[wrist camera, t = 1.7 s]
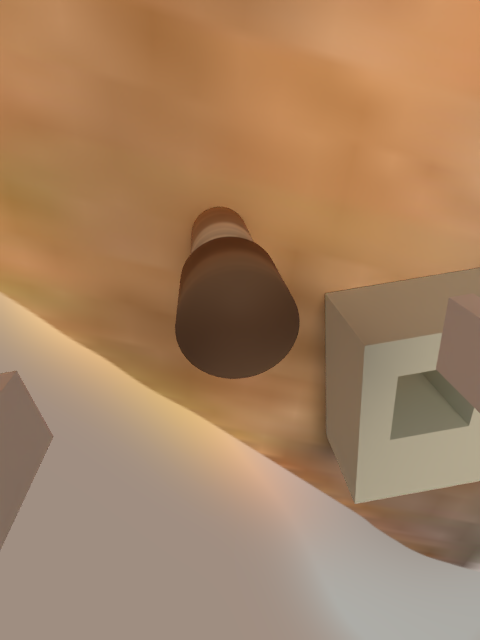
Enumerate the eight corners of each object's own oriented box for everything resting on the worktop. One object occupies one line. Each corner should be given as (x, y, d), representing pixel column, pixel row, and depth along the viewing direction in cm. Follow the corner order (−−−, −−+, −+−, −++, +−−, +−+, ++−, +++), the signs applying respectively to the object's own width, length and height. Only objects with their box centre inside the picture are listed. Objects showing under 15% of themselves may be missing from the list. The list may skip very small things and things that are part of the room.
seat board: (325, 293, 26) (364, 345, 20) (534, 258, 26) (635, 299, 20) (325, 434, 33) (354, 503, 27) (488, 405, 34) (552, 467, 28)
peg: (178, 206, 22) (161, 282, 11) (248, 195, 22) (296, 261, 11) (192, 271, 24) (189, 387, 13) (256, 261, 24) (301, 367, 13)
